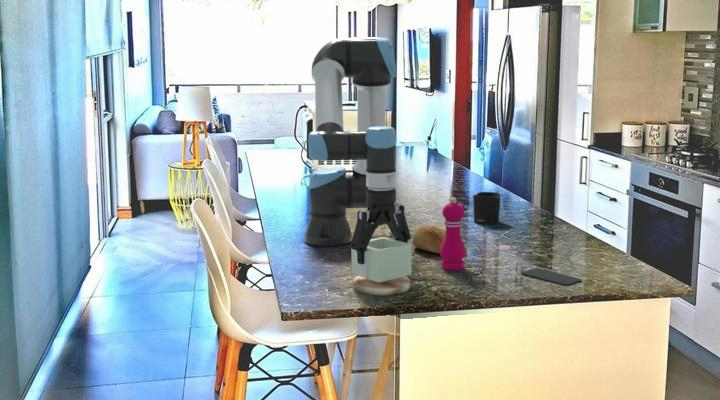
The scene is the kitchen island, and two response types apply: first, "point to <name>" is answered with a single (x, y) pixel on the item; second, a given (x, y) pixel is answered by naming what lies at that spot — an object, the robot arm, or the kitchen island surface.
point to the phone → (551, 276)
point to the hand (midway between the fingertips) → (381, 271)
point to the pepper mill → (453, 237)
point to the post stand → (381, 286)
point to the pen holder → (486, 207)
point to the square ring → (385, 259)
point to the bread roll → (429, 238)
